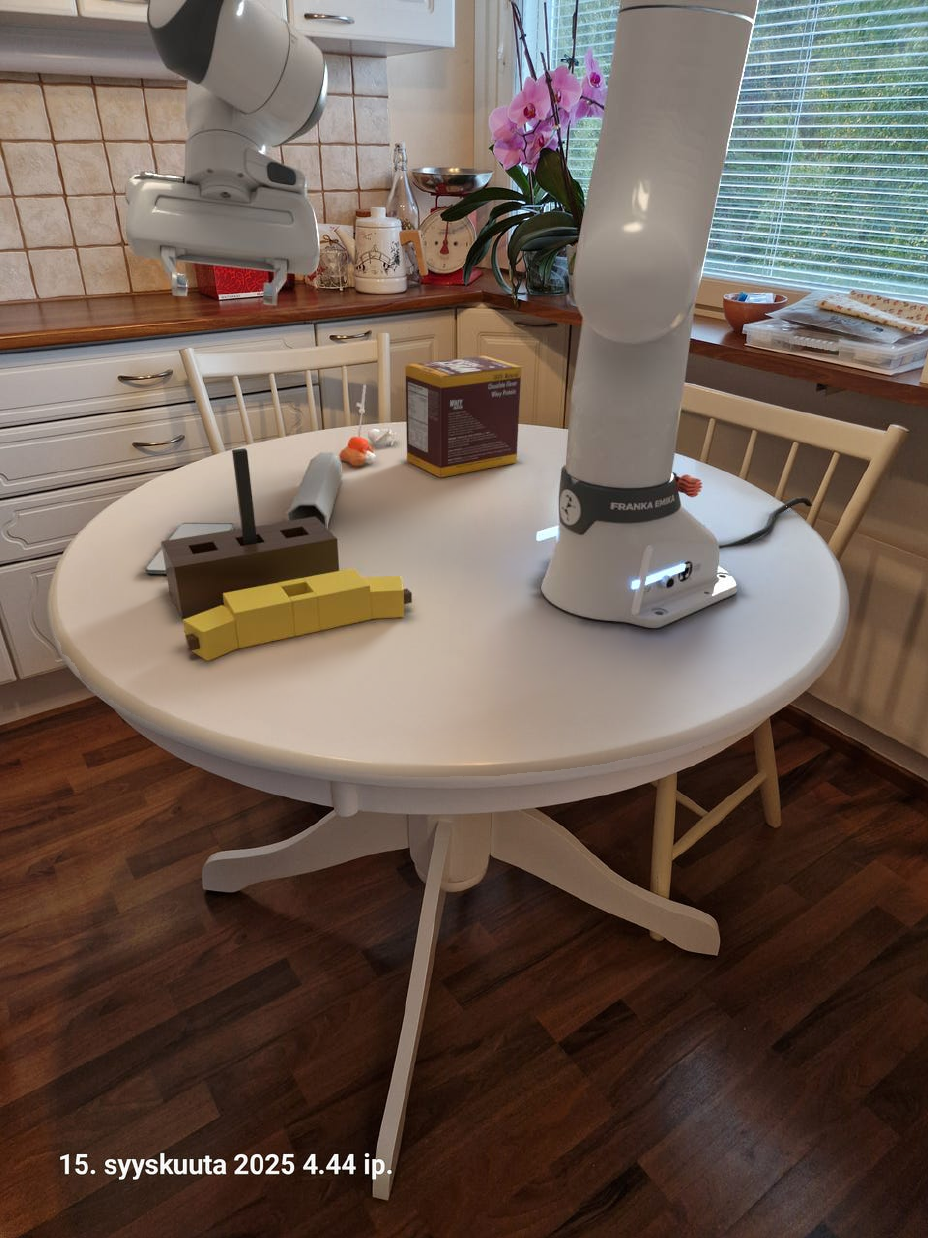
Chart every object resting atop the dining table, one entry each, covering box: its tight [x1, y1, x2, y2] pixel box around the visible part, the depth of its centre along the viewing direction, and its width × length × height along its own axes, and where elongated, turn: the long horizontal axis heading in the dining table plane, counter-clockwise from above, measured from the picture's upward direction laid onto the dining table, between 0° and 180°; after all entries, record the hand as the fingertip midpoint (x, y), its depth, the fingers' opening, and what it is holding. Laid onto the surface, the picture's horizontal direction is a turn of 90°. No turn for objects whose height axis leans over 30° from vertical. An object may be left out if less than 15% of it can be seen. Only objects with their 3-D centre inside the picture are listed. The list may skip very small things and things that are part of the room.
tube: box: [285, 451, 343, 530], centre depth 114 cm, size 5×5×25 cm
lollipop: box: [339, 384, 376, 467], centre depth 132 cm, size 6×10×12 cm, turn 177°
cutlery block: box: [160, 517, 340, 620], centre depth 90 cm, size 7×17×6 cm, turn 118°
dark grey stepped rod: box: [231, 448, 257, 546], centre depth 88 cm, size 2×1×16 cm, turn 118°
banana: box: [182, 567, 413, 662], centre depth 84 cm, size 6×23×4 cm, turn 118°
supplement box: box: [404, 355, 522, 478], centre depth 131 cm, size 10×15×16 cm
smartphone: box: [144, 522, 235, 575], centre depth 101 cm, size 7×1×15 cm
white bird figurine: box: [367, 422, 397, 447], centre depth 142 cm, size 8×5×5 cm, turn 177°
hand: (225, 297), depth 89 cm, fingers open, 8 cm apart
